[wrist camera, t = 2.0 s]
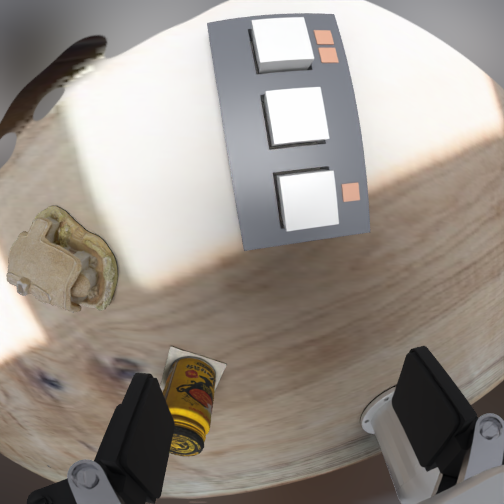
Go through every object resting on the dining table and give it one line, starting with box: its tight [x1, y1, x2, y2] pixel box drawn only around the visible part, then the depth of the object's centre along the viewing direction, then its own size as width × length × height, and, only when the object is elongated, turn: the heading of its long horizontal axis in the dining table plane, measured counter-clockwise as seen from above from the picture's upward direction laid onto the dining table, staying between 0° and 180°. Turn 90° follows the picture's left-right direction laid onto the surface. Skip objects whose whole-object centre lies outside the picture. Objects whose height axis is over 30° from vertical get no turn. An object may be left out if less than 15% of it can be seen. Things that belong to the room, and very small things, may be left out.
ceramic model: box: [7, 206, 118, 313], centre depth 24 cm, size 14×11×10 cm
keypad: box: [207, 13, 370, 251], centre depth 23 cm, size 12×22×3 cm, turn 9°
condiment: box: [160, 347, 227, 456], centre depth 28 cm, size 7×8×12 cm
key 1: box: [251, 17, 314, 74], centre depth 19 cm, size 4×4×4 cm
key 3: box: [275, 169, 339, 231], centre depth 23 cm, size 4×4×4 cm
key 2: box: [263, 87, 329, 147], centre depth 21 cm, size 4×4×4 cm
